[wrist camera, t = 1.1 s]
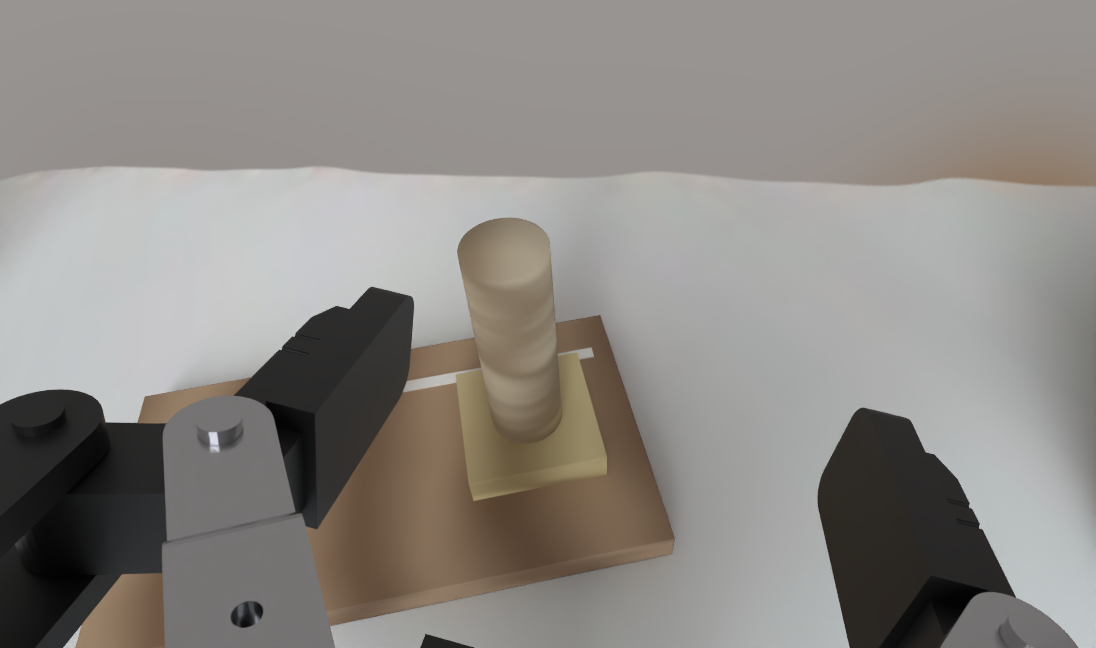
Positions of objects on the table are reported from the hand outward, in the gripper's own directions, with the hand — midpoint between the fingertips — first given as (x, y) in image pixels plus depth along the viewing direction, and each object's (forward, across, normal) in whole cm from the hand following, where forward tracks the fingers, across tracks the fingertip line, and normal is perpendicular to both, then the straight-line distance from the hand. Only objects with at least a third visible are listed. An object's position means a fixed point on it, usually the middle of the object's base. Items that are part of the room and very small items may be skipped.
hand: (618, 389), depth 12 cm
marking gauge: (+14, +2, +14) cm, 20 cm away
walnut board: (+12, +9, +17) cm, 23 cm away
